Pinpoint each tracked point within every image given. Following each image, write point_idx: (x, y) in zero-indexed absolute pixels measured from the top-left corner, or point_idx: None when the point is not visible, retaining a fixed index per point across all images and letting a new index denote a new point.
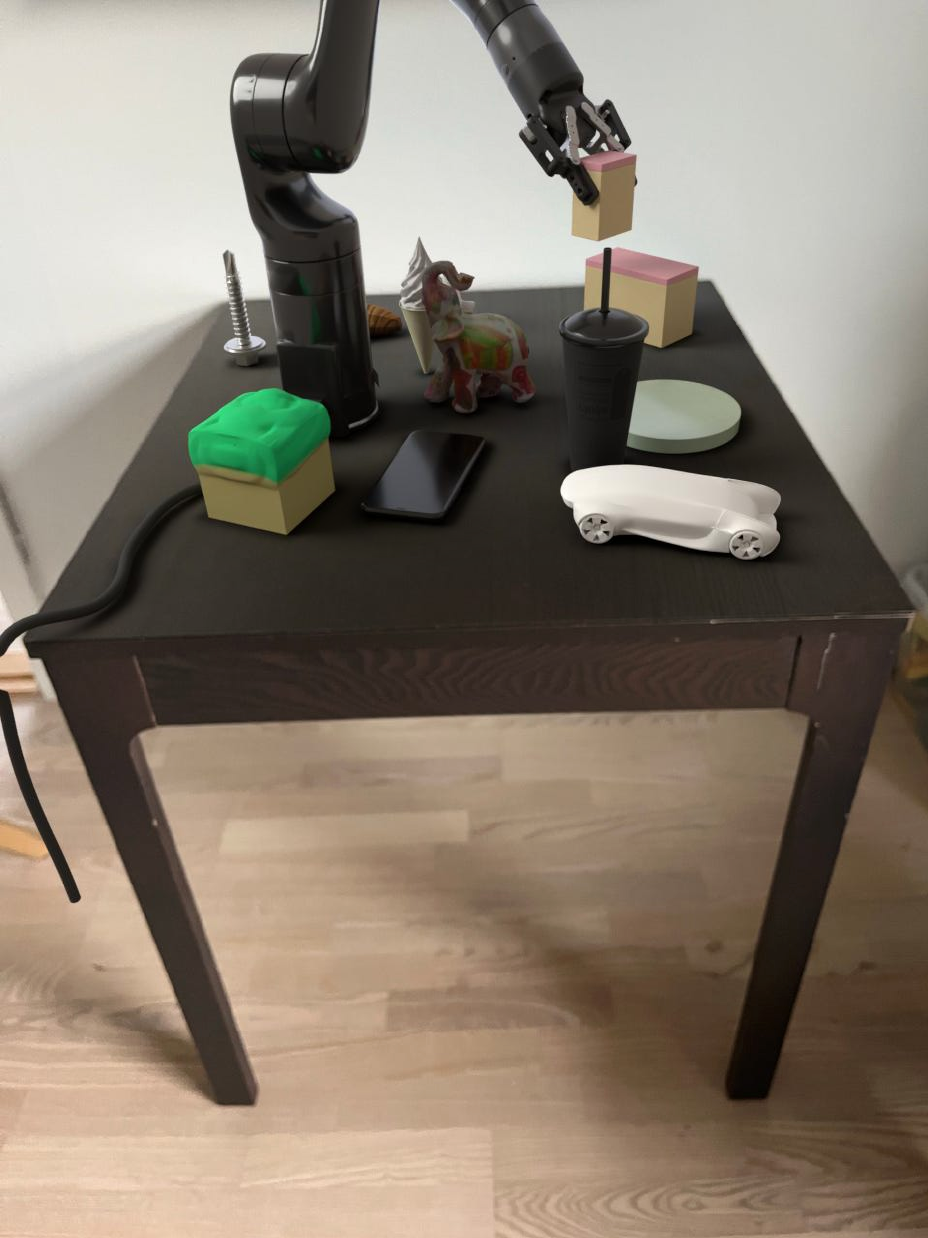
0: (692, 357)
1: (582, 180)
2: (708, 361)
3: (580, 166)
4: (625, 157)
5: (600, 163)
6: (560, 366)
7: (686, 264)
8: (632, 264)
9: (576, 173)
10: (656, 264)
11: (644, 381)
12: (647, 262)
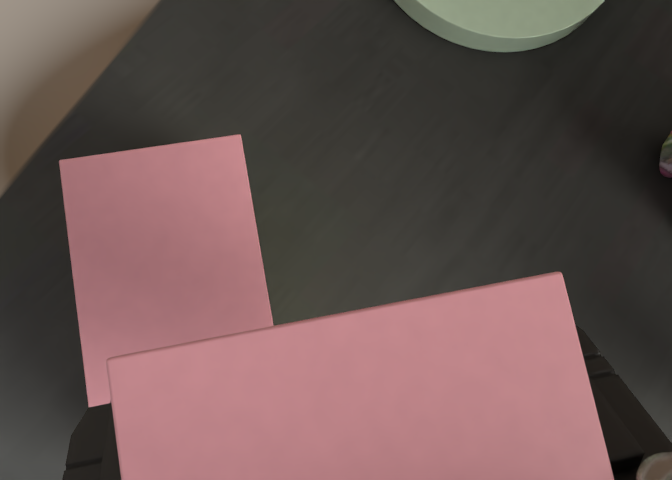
0: (233, 109)
1: (595, 382)
2: (222, 71)
3: (628, 447)
4: (260, 334)
5: (552, 302)
6: (505, 260)
7: (75, 202)
8: (217, 327)
9: (649, 424)
10: (154, 270)
11: (461, 24)
12: (160, 310)
